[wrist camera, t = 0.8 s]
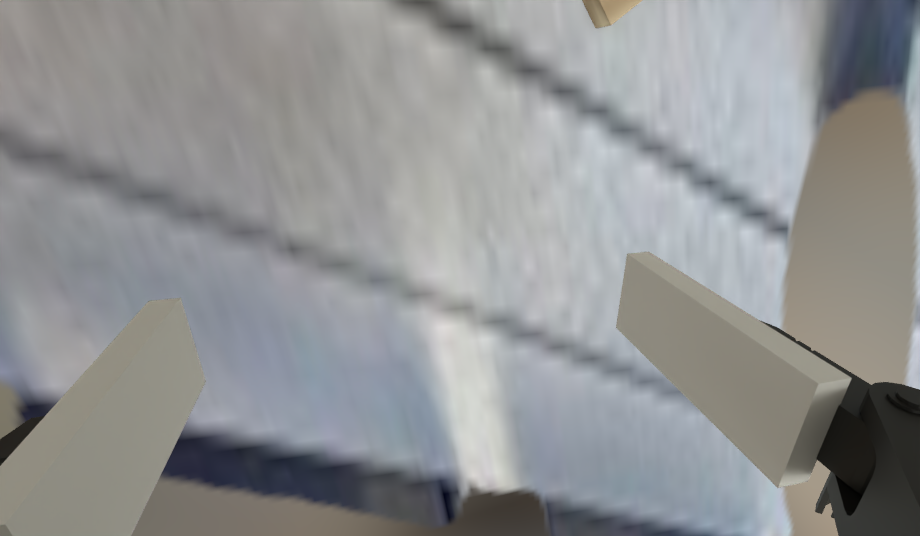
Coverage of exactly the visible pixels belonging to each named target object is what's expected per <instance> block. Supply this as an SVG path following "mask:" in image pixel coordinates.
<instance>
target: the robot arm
mask: <svg viewBox="0 0 920 536" xmlns="http://www.w3.org/2000/svg"><path fill="white" fill-rule="evenodd" d="M616 328H617V329H618V330H619V331H620V332H621V333H622V334H623V335H624V336H625V337H626V338H627V339H628V340H629V341H630V342H631V343H632V344H633V345H634V346H635V347H636V348H637V349H638V350H639V351H640V352H641V353H642V354H643V355H644V356H645V357H646V358H647V359H648V360H649V361H650V362H651V363H652V364H653V365H654V366H655V367H656V368H657V369H658V370H659V371H660V372H661V373H662V374H663V375H664V376H665V377H666V378H667V379H668V380H669V381H670V382H671V383H672V384H674V385H675V386H676V387H677V388H678V389H679V390H680V391H681V392H682V393H683V394H684V395H685V396H686V397H687V398H688V399H689V400H690V401H691V402H692V403H693V404H694V405H695V406H696V407H697V408H698V409H699V410H700V411H701V412H702V413H703V414H704V415H705V416H706V417H707V418H708V419H709V420H710V421H711V422H712V423H713V424H714V425H715V426H716V427H717V428H718V429H719V430H720V431H721V432H722V433H723V434H724V435H725V436H726V437H727V438H728V439H729V440H730V441H731V442H732V443H733V444H734V445H735V446H736V447H737V448H738V449H739V450H740V451H741V452H742V453H743V454H744V455H745V456H746V457H747V458H748V459H749V460H750V461H751V462H752V463H753V464H754V465H755V466H756V467H757V468H758V469H759V470H760V471H761V472H762V473H763V474H764V475H765V476H766V477H767V478H768V479H769V480H770V481H771V482H772V483H773V484H774V485H775V486H776V487H777V488H780V487H785V486H789V485H794V484H798V483H803V482H807V481H808V480H809V477H810V475H811V473H812V470H813V468H814V466H815V463H816V461H817V460H818V461H820V462H821V463H822V464H823V465H824V466H826V467H827V468H828V469H829V470H830V471H831V472H830V474H829V477H828V479H827V481H826V483H825V486H824V488H823V490H822V492H821V494H820V497H819V499H818V501H817V503H816V510H815V512H817V513H821V514H822V512H823V510H824V508H825V506H826V505H827V504H829V503H831V506H832V510H833V513H832V515H831V517H832V518H835V522H836V527H837V531H838V535H839V536H920V390H919V389H916V388H912V387H909V386H905V385H902V384H895V383H889V382H883V383H882V382H881V383H874V384H873V385H870V384H869V383H867V382H865V381H864V380H862V379H861V378H859V377H857V376H855V375H854V374H852V373H851V372H849V371H847V370H846V369H844V368H842V367H841V366H839V365H838V364H836V363H834V362H833V361H831V360H829V359H828V358H826V357H824V356H823V355H821V354H820V353H818V352H816V351H811V348H810V347H808V346H807V345H805V344H803V343H802V342H800V341H796V340H795V338H794V337H792V336H790V335H789V334H787V333H785V332H784V331H782V330H780V329H779V328H777V327H775V326H772V325H770V324H767V323H765V322H762V321H760V320H758V319H756V318H754V317H753V316H751V315H750V314H748V313H746V312H745V311H743V310H742V309H740V308H738V307H737V306H735V305H734V304H732V303H730V302H729V301H727V300H726V299H724V298H722V297H721V296H719V295H717V294H716V293H714V292H713V291H711V290H709V289H708V288H706V287H705V286H703V285H701V284H700V283H698V282H697V281H695V280H693V279H692V278H690V277H689V276H687V275H685V274H684V273H682V272H680V271H679V270H677V269H676V268H674V267H672V266H671V265H669V264H668V263H666V262H664V261H663V260H661V259H660V258H658V257H656V256H655V255H653V254H652V253H650V252H641V253H631V254H627V259H626V265H625V272H624V278H623V285H622V292H621V298H620V305H619V311H618V318H617V324H616ZM205 382H206V380H205V377H204V374H203V370H202V367H201V364H200V360H199V357H198V354H197V350H196V347H195V344H194V341H193V337H192V334H191V331H190V327H189V324H188V321H187V317H186V314H185V311H184V307H183V304H182V301H181V298H175V299H164V300H154V301H148V303H147V304H146V305H145V306H144V307H143V308H142V309H141V310H140V311H139V313H138V314H137V315H136V316H135V317H134V318H133V319H132V320H131V321H130V323H129V324H128V325H127V326H126V327H125V328H124V329H123V330H122V331H121V333H120V334H119V335H118V336H117V337H116V338H115V339H114V340H113V341H112V343H111V344H110V345H109V346H108V347H107V348H106V349H105V350H104V351H103V353H102V354H101V355H100V356H99V357H98V358H97V359H96V360H95V361H94V362H93V364H92V365H91V366H90V367H89V368H88V369H87V370H86V371H85V372H84V374H83V375H82V376H81V377H80V378H79V379H78V380H77V381H76V382H75V384H74V385H73V386H72V387H71V388H70V389H69V390H68V391H67V392H66V394H65V395H64V396H63V397H62V398H61V399H60V400H59V401H58V402H57V404H56V405H55V406H54V407H53V408H52V409H51V410H50V411H49V412H48V414H47V415H46V416H43V417H36V418H31V419H29V420H28V421H26V422H25V423H23V424H22V425H20V426H19V427H18V428H16V429H15V430H13V431H12V432H10V433H9V434H7V435H6V436H4V437H3V438H2V439H0V536H131V535H132V533H133V531H134V529H135V527H136V525H137V522H138V520H139V518H140V516H141V514H142V512H143V510H144V508H145V506H146V504H147V502H148V500H149V498H150V496H151V494H152V492H153V489H154V487H155V485H156V483H157V481H158V479H159V477H160V475H161V473H162V471H163V469H164V467H165V465H166V463H167V461H168V459H169V456H170V454H171V452H172V450H173V448H174V446H175V444H176V442H177V440H178V438H179V436H180V434H181V432H182V430H183V428H184V426H185V423H186V421H187V419H188V417H189V415H190V413H191V411H192V409H193V407H194V405H195V403H196V401H197V399H198V397H199V395H200V393H201V390H202V388H203V386H204V384H205Z"/></svg>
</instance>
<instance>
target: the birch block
mask: <svg viewBox="0 0 920 536" xmlns="http://www.w3.org/2000/svg"><path fill="white" fill-rule="evenodd" d="M582 1H583V3H584V5H585V7H586V9H587V11H588V13H589V15H590V17H591V20H592V22H593V24H594V26H595V28H600V27H605V26H609V25H612V24H613V23H614V22H616V21H617V20H618V19H619V18H621V17H622V16H623V15H624V14H626V13H627V12H628V11H629V10H631V9H632V8H633V7H635V6H636V5H637V4H638V3H640V2H641V1H642V0H582Z"/></svg>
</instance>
